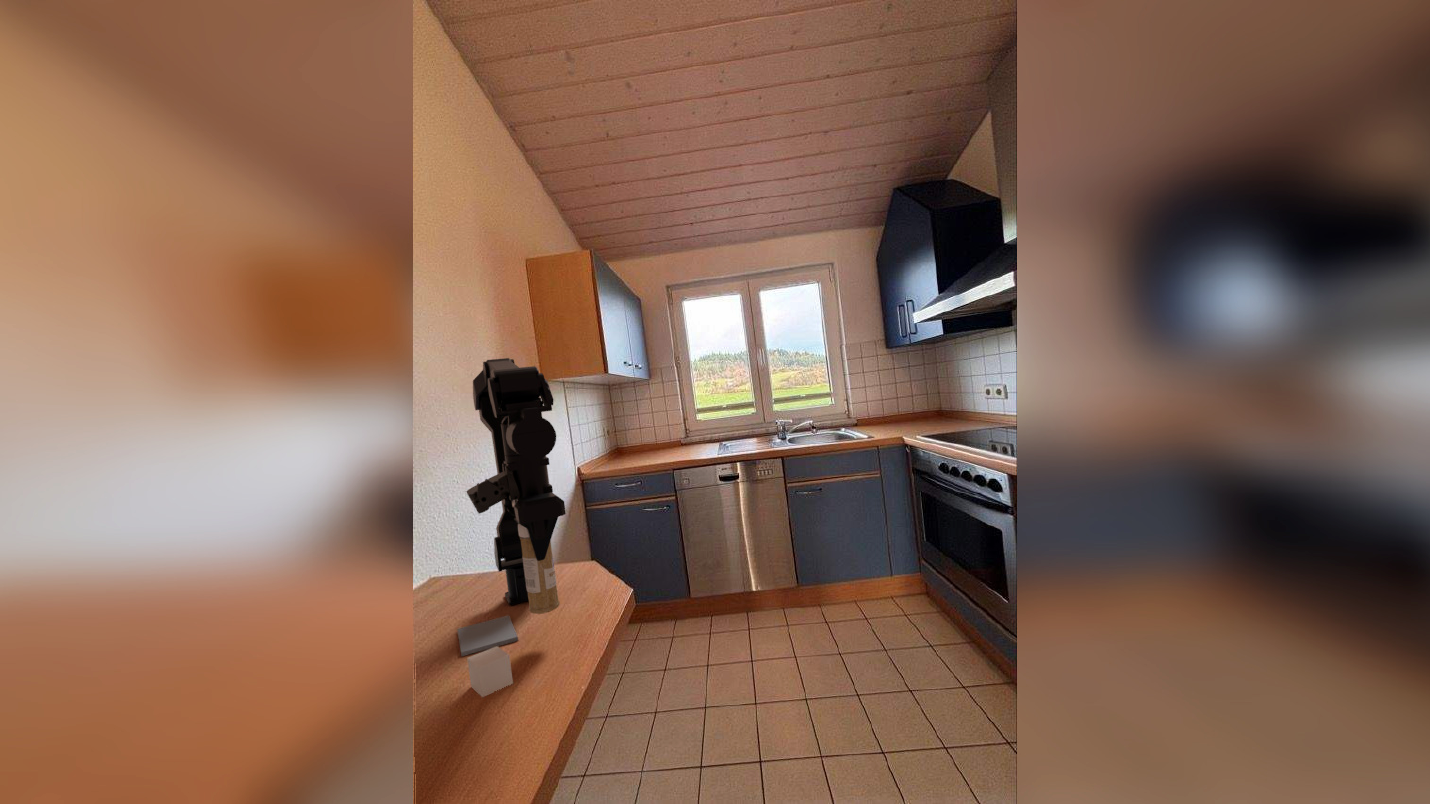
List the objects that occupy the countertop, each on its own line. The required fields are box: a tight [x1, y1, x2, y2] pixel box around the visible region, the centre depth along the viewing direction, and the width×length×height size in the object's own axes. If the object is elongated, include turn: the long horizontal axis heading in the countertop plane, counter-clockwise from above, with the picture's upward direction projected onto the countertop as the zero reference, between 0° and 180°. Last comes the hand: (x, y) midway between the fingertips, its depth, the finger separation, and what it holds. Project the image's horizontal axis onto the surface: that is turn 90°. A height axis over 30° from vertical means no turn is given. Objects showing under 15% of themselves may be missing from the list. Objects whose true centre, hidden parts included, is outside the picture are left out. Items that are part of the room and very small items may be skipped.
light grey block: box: [466, 646, 514, 698], centre depth 79 cm, size 4×4×4 cm
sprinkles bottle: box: [518, 524, 561, 615], centre depth 91 cm, size 5×5×13 cm
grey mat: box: [456, 614, 519, 657], centre depth 95 cm, size 10×8×1 cm
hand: (538, 556), depth 91 cm, fingers closed on sprinkles bottle, 4 cm apart
